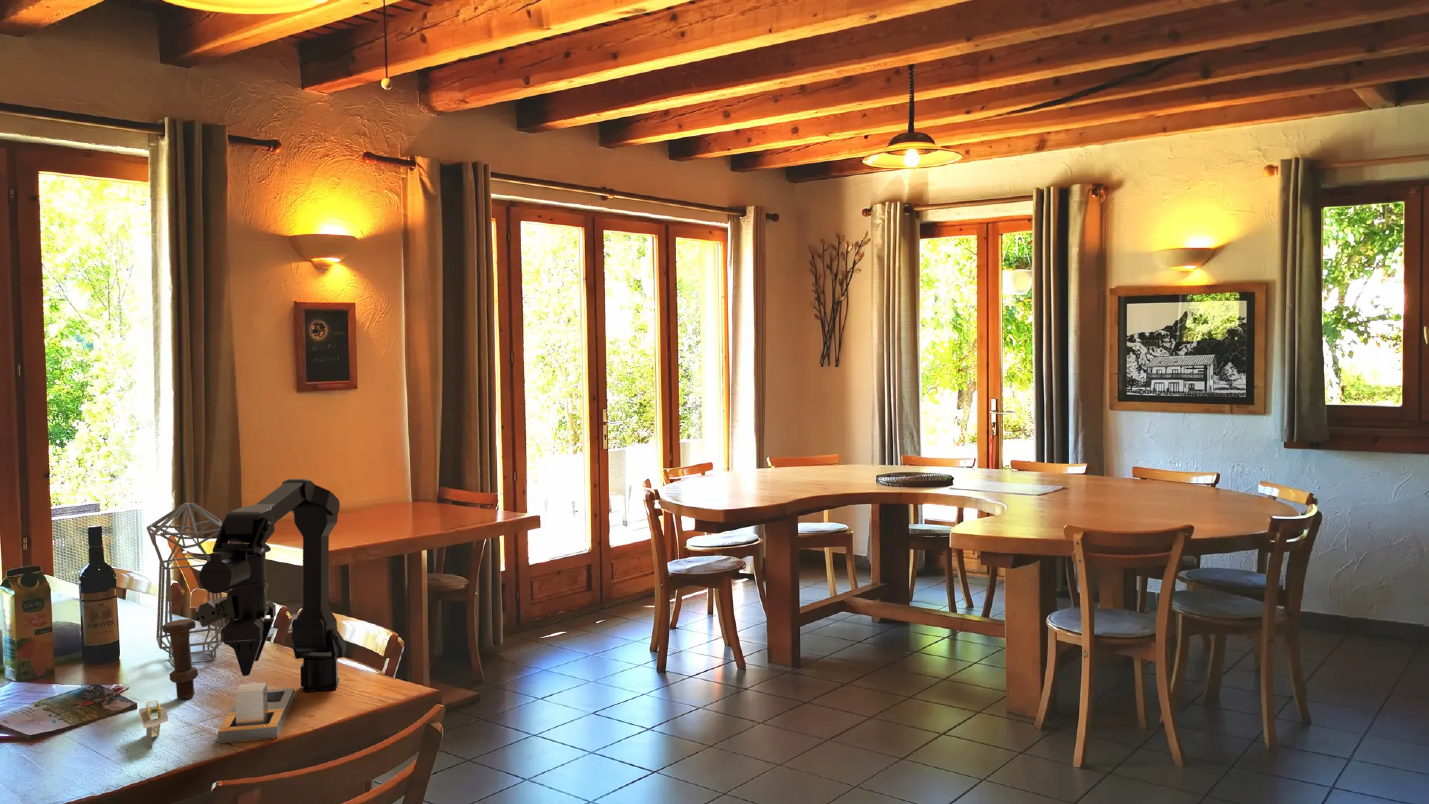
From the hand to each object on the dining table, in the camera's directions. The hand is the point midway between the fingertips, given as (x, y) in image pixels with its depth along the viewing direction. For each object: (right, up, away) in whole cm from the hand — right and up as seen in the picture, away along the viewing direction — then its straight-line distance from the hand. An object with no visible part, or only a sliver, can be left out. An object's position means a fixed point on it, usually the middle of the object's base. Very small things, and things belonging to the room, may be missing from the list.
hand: (250, 668), depth 186 cm
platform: (-15, -12, -4) cm, 20 cm away
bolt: (-21, -11, +20) cm, 31 cm away
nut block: (0, -12, +1) cm, 12 cm away
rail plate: (-2, -11, +7) cm, 13 cm away
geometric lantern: (-34, -10, +47) cm, 58 cm away
